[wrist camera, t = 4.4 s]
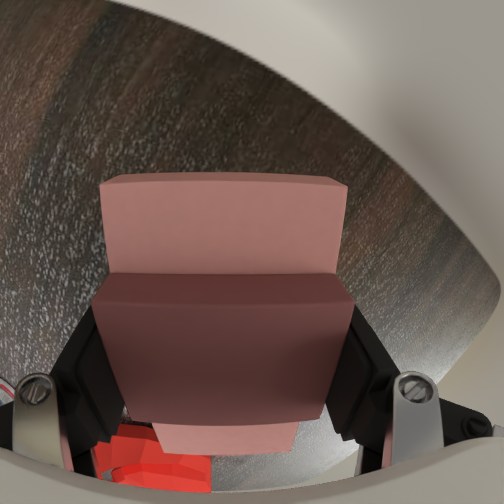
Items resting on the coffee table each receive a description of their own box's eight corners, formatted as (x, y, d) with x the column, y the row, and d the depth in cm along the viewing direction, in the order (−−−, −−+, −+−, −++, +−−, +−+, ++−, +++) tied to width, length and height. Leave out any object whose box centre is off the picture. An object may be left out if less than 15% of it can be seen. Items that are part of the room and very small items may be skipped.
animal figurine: (44, 390, 18) (24, 432, 14) (211, 420, 20) (212, 473, 15) (80, 453, 22) (71, 487, 18) (209, 474, 24) (210, 512, 20)
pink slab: (118, 174, 8) (69, 198, 5) (328, 176, 9) (376, 200, 6) (166, 429, 13) (161, 478, 10) (285, 428, 14) (295, 476, 11)
